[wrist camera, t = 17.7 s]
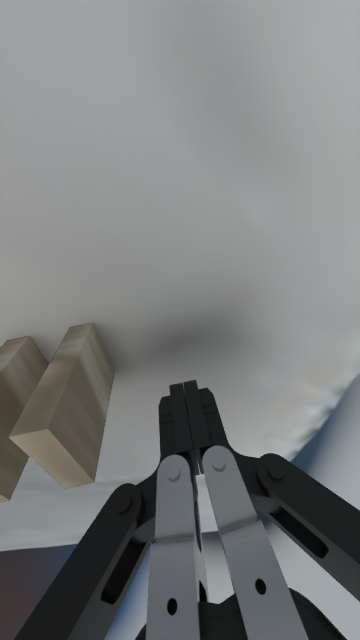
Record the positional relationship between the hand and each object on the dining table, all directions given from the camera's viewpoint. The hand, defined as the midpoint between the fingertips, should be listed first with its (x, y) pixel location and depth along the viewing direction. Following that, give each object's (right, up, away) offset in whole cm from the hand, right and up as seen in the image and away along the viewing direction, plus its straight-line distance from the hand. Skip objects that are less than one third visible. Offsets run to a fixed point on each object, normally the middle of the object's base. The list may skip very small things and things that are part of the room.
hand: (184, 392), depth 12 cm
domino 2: (-7, +2, +5) cm, 9 cm away
